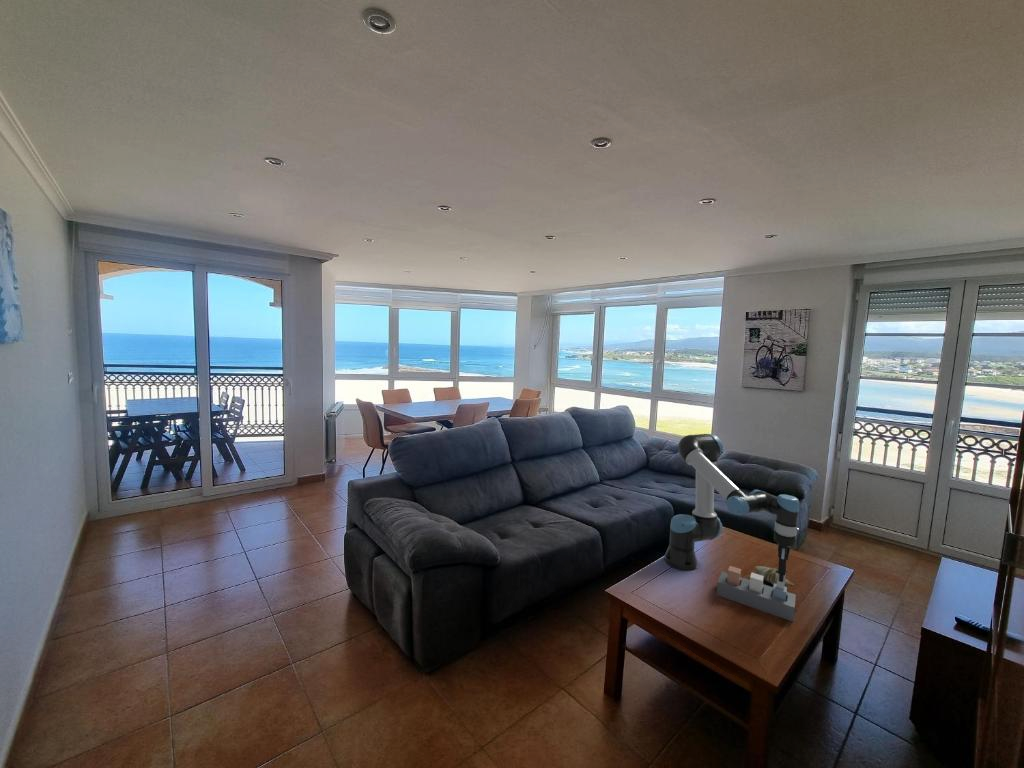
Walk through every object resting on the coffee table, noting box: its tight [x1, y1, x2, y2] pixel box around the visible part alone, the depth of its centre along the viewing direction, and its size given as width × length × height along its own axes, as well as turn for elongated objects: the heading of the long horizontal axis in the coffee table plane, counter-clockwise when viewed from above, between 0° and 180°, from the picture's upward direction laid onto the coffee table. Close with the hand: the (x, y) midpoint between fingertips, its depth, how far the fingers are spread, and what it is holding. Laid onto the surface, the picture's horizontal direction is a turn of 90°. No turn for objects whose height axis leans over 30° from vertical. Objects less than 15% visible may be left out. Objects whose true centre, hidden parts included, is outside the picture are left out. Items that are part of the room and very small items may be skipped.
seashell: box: [755, 565, 795, 587], centre depth 189 cm, size 14×9×10 cm
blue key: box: [772, 583, 788, 601], centre depth 171 cm, size 5×5×7 cm
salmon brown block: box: [727, 565, 742, 586], centre depth 181 cm, size 5×5×7 cm
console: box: [716, 571, 796, 622], centre depth 177 cm, size 28×11×6 cm, turn 53°
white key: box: [749, 572, 764, 593], centre depth 176 cm, size 5×5×7 cm
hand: (780, 587), depth 171 cm, fingers closed
